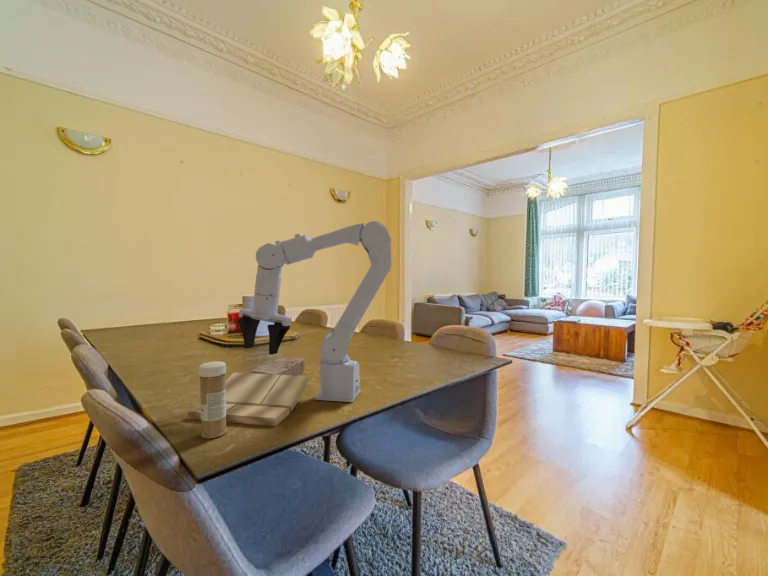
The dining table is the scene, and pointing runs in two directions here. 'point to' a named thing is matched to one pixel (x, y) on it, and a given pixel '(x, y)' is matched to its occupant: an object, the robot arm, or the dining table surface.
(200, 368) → the sprinkles bottle
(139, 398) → the dining table surface
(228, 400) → the plank
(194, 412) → the floor row
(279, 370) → the brick
